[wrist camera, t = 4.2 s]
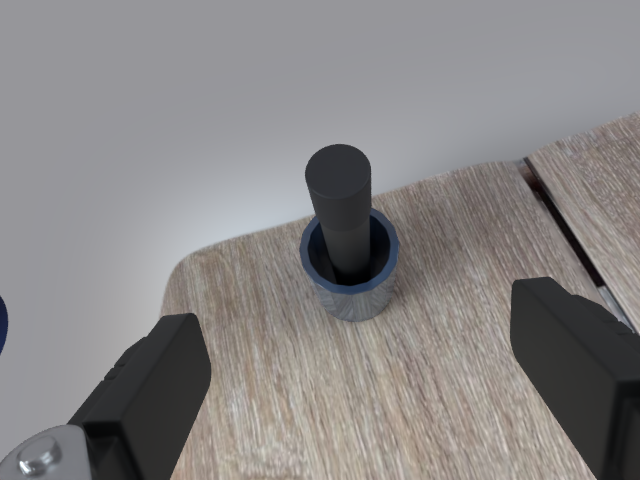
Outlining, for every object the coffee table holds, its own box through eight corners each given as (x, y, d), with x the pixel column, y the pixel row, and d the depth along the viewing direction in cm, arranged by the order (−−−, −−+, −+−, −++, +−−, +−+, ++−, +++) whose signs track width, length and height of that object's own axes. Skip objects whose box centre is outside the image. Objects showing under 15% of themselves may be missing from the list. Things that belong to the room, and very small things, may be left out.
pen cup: (325, 330, 27) (310, 305, 21) (309, 258, 30) (291, 216, 23) (403, 311, 27) (412, 279, 21) (380, 240, 30) (382, 193, 23)
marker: (340, 302, 28) (312, 206, 15) (332, 269, 29) (299, 152, 16) (376, 293, 27) (379, 189, 15) (366, 260, 29) (361, 136, 16)
